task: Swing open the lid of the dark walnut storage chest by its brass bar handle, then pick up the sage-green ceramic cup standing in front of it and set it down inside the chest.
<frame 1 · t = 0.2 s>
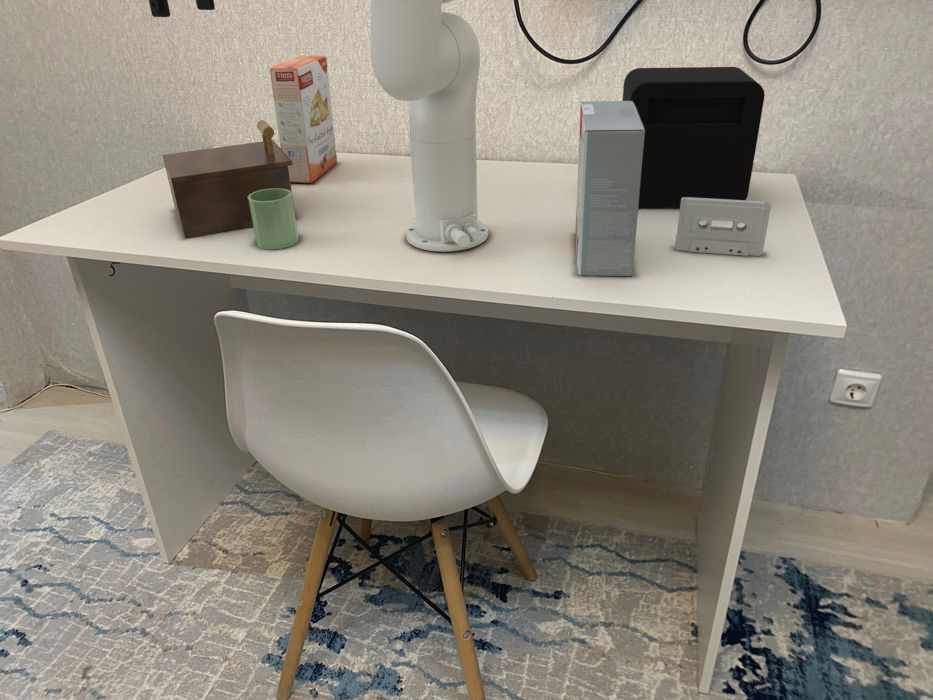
hand: (184, 13, 116), 31 cm above the table, tool pointing down, fingers open, 9 cm apart
chest: (234, 214, 126), on the table
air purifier: (677, 195, 128), on the table
cracker box: (313, 174, 146), on the table
cup: (277, 241, 115), on the table
cassette: (717, 253, 106), on the table
robot toy: (229, 183, 142), on the table
hard drive box: (601, 255, 106), on the table
chest lid: (223, 145, 120), point 12 cm above the table, hinge at 0.0°
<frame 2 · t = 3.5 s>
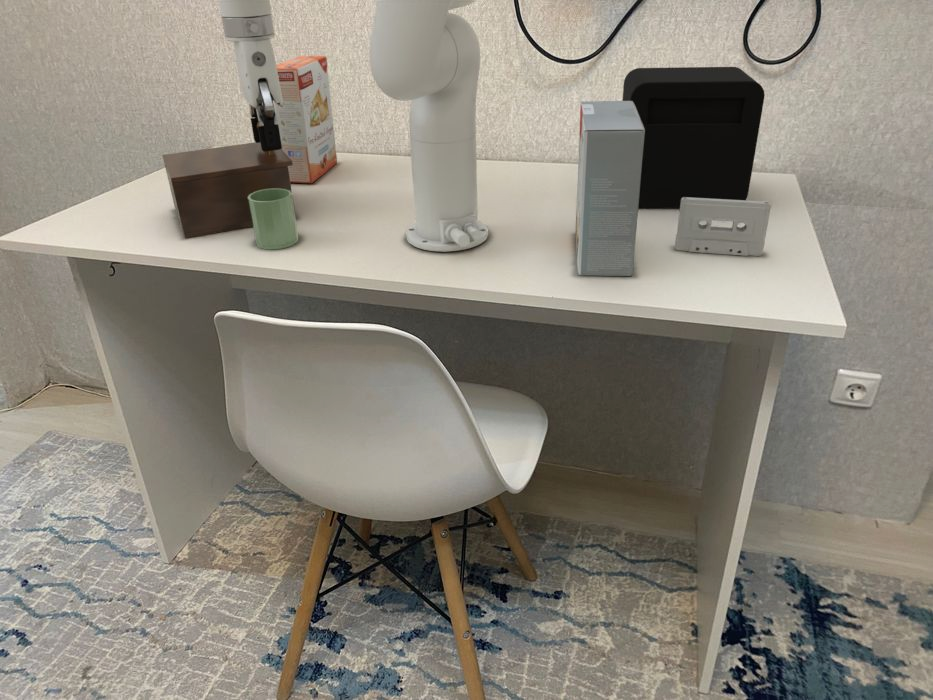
hand: (267, 144, 123), 11 cm above the table, tool pointing down, fingers closed on chest lid, 5 cm apart
chest lid: (223, 145, 120), point 12 cm above the table, hinge at 0.0°, touching gripper
everything else where it was.
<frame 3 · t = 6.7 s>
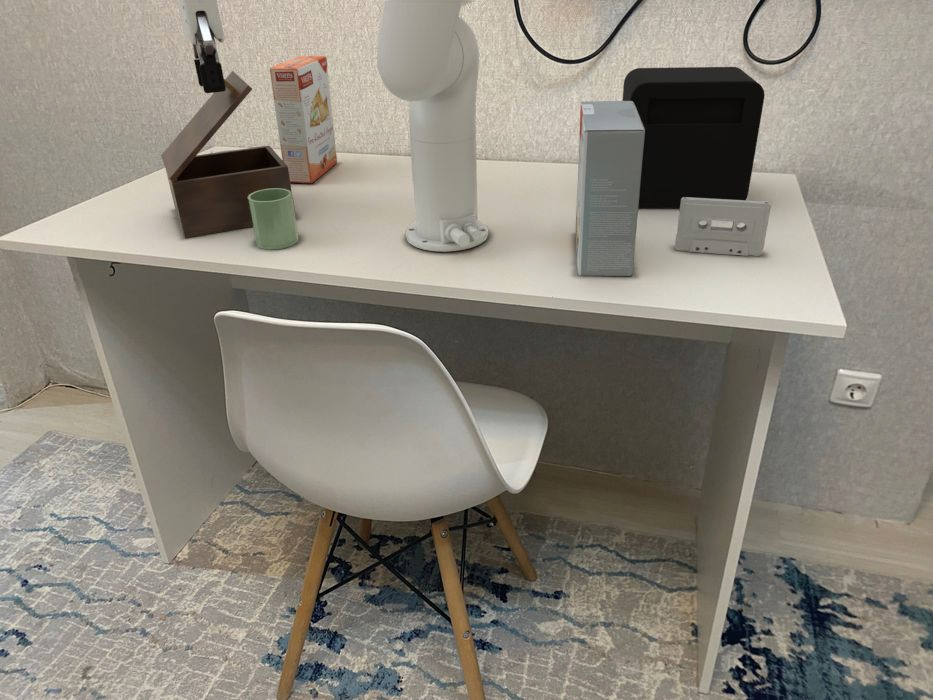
hand: (212, 87, 115), 21 cm above the table, tool pointing down, fingers closed on chest lid, 5 cm apart
chest lid: (192, 114, 116), point 17 cm above the table, hinge at 40.9°, touching gripper
everything else where it was.
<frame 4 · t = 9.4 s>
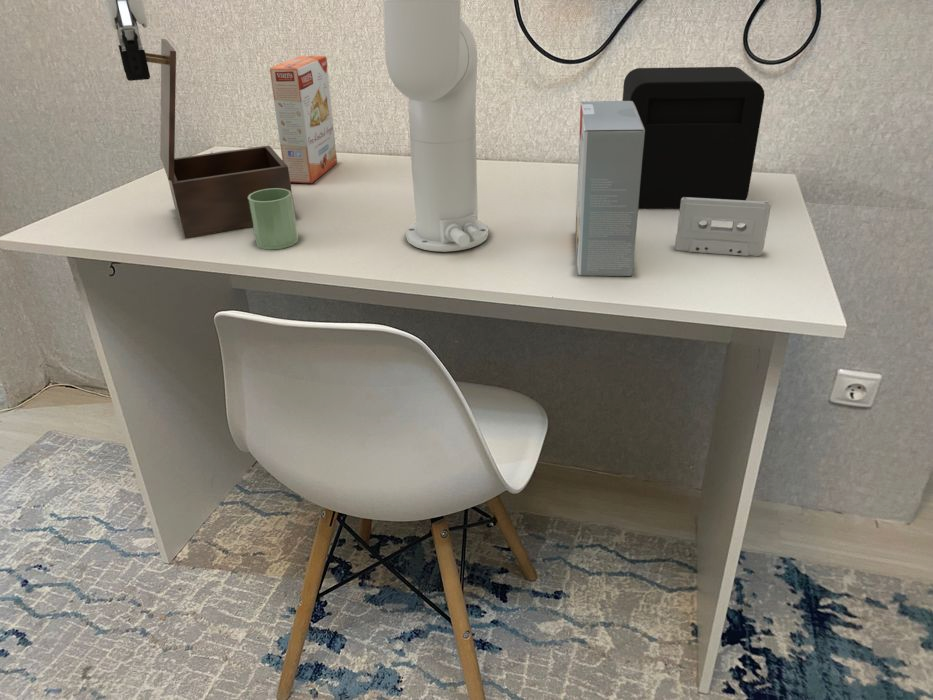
hand: (137, 74, 110), 24 cm above the table, tool pointing down, fingers closed on chest lid, 5 cm apart
chest lid: (151, 106, 113), point 19 cm above the table, hinge at 76.8°, touching gripper
everything else where it was.
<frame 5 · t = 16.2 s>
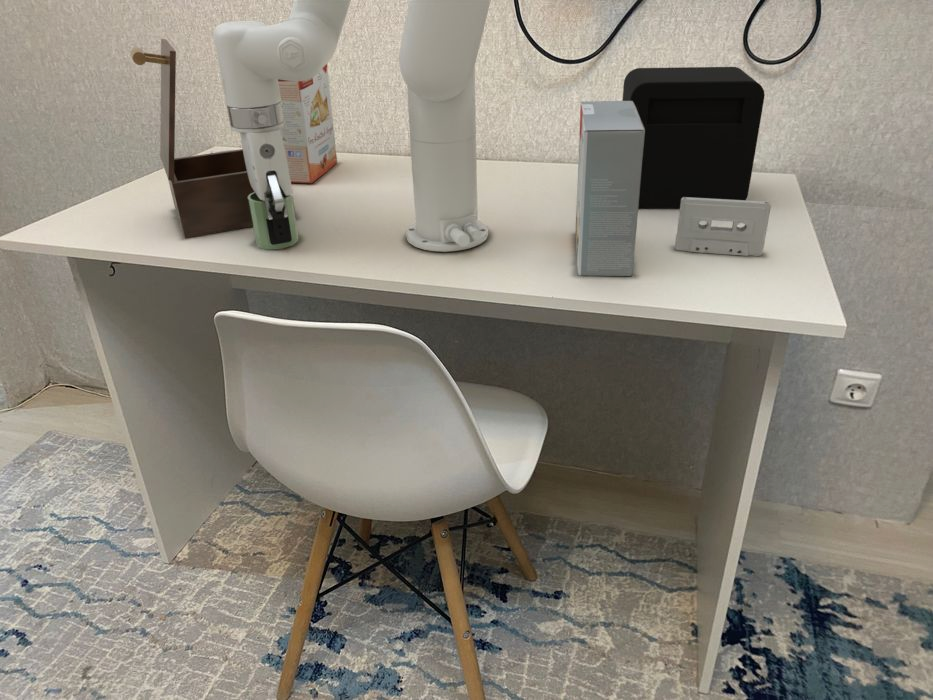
hand: (276, 233, 114), 1 cm above the table, tool pointing down, fingers closed on cup, 6 cm apart
cup: (277, 241, 115), on the table, touching gripper
chest lid: (151, 106, 113), point 19 cm above the table, hinge at 76.9°
everything else where it was.
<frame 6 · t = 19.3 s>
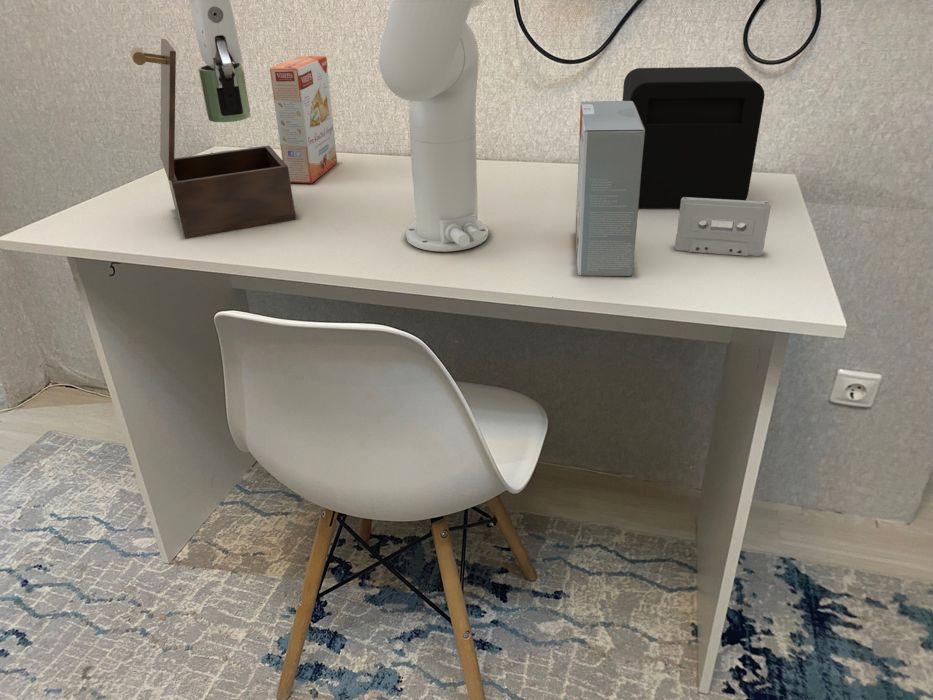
hand: (228, 109, 115), 18 cm above the table, tool pointing down, fingers closed on cup, 6 cm apart
cup: (229, 117, 116), point 17 cm above the table, touching gripper
everything else where it was.
when the fingers open (8 cm above the table, at t = 22.6 s): cup drops 6 cm, resting on chest.
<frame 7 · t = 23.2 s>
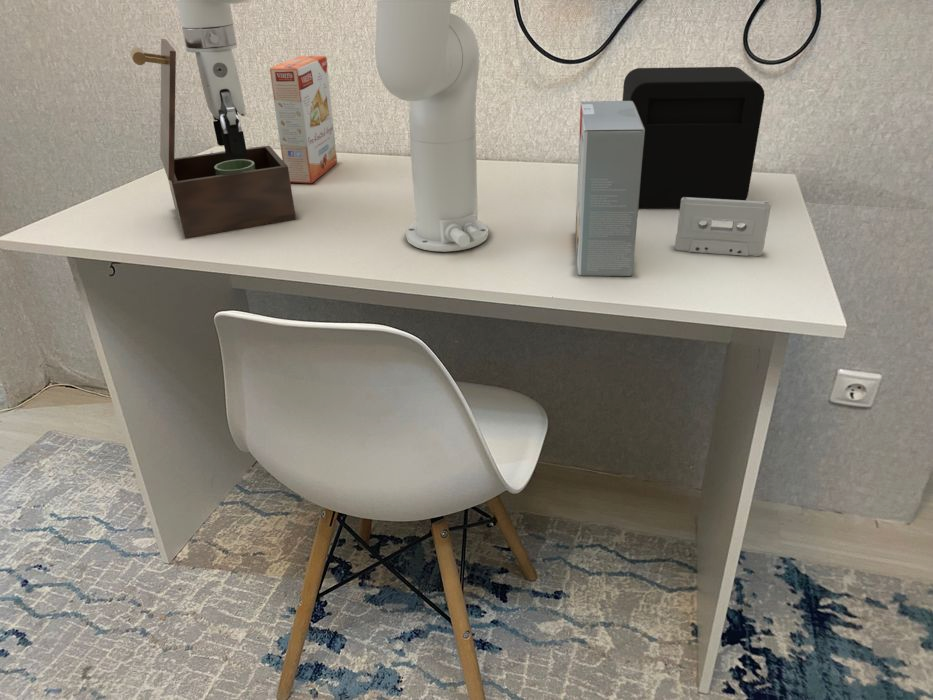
hand: (232, 151, 121), 11 cm above the table, tool pointing down, fingers open, 9 cm apart
cup: (242, 208, 126), point 1 cm above the table, touching chest
everything else where it was.
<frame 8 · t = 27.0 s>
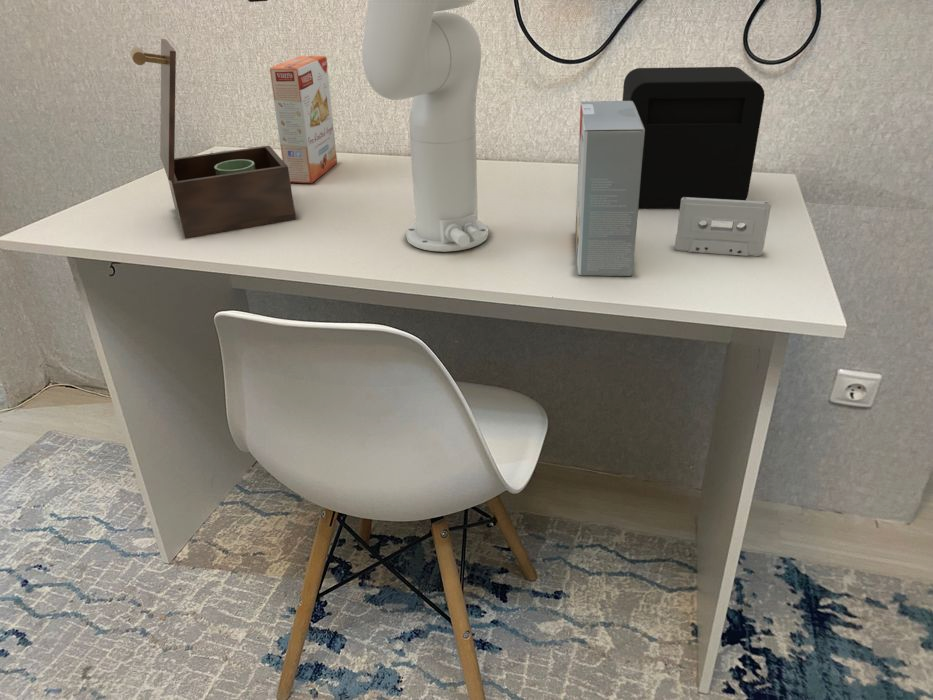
nothing on the table moved.
at the end: chest lid at +77° (first picture: +0°); cup inside the target area in the chest (1.5 cm from its centre), point 0.9 cm above the chest's base; the gripper is holding nothing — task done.
